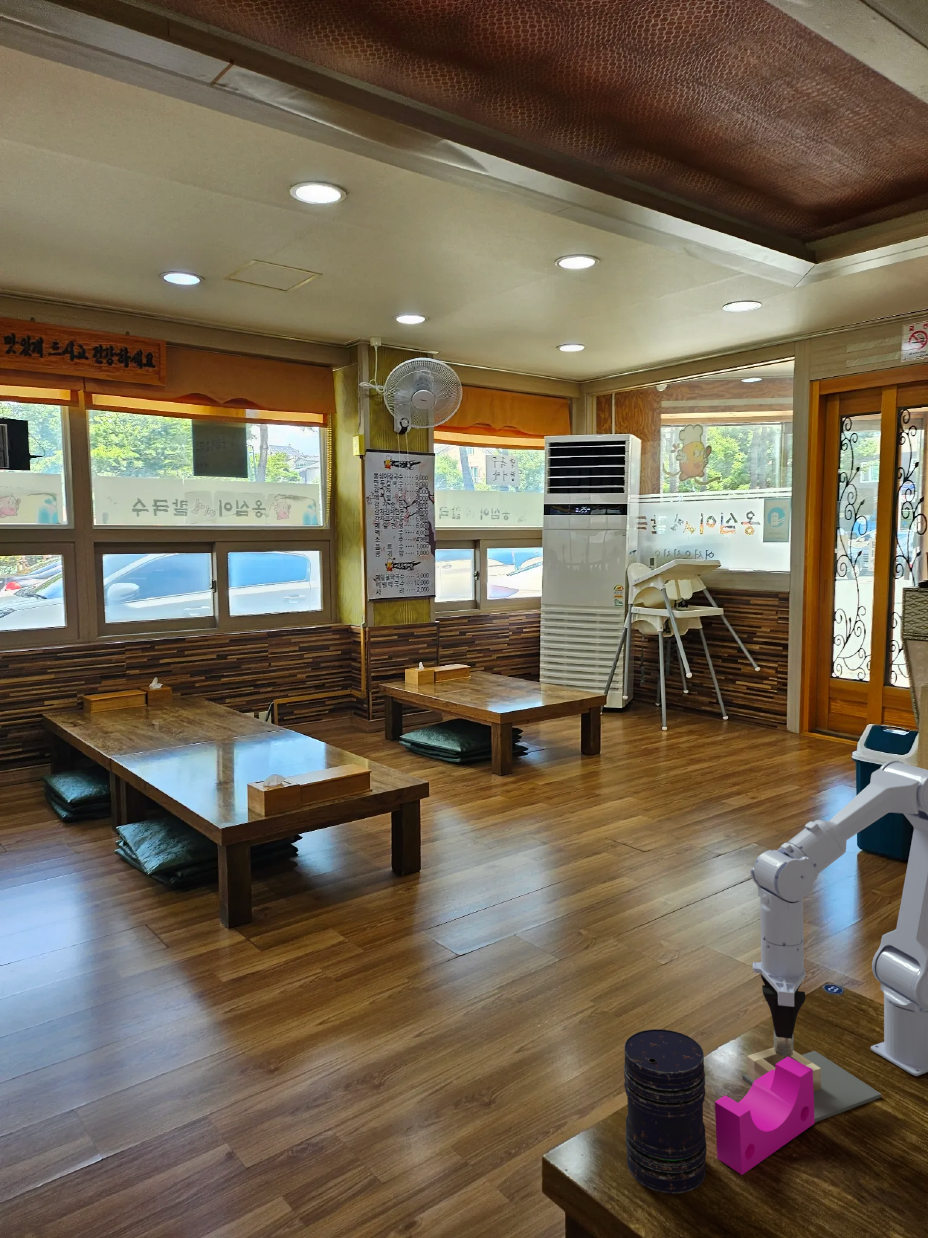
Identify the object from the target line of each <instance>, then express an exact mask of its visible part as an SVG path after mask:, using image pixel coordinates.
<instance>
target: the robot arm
mask: <svg viewBox="0 0 928 1238" xmlns="http://www.w3.org/2000/svg"><path fill="white" fill-rule="evenodd" d="M888 813H890V814H891V813H894V814H903V815H904V816H905V818H906V819H907V820H908V821H909V823H910V824H911V825H912V827H913V832H912V838H911V845H910V850H909V854H908V855H909V856H908V862H907V867H906V872H905V878H904V883H903V889H902V895H901V900H900V907H899V911H898V917H897V923H896V928H895V929H894V930H891V931H888V932H886V933H885V934H882V936H881V939H880V941H881V942H880V945H879V947H878V949H877V951H875V953H874V956H873V959H872V963H871V969H872V971H871V972H872V974H873V976H874V978H875V979H876V980H877V981H878V982H879V983H880V991H882V993H883V1019H884V1020H883V1021H884V1022H883V1029H884V1030H883V1031H884V1033H883V1036H884V1037H883V1039H884V1041H882V1042H879V1043H877V1044H874V1045H871V1046H870V1050H871V1051H872V1052H874V1053H875V1054H877V1055H879V1056H881V1058H884V1059H885V1060H887V1061H889V1062H891V1063H892V1064H893V1065H896V1066H897V1067H899V1068H901V1069H902V1070H904V1071H905V1072H907V1073H908V1074H911V1075H912V1076H914V1077H919V1076H921V1075H923V1074H926V1073H928V769H925V768H922V767H919V766H915V765H912V764H911V765H910V764H907V763H905V762H902V761H900V760H893V759H892V760H888V761H886V762H885V763H883V764H882V765H881V766H880V768H878V769H876V770H875V771H873V772H872V773H871V775H870V783H869V784H868V785H866V787H865V788H864V789H862V790H861V791H860V792H858V794H856V796H855V797H853V798H852V799H851V800H850V801H849V802H848V803H846V805H844V807H843V808H842V809H840V810H839V811H838V812H837V813H836V814H835V815H833V817H831V818H830V819H829V820H823V819H816V820H814V821H808V822H807V823H806V824H805V825H804V828H803V830H801V831H800V832H798V833H797V834H796V835H795V836H793V837H792V838H791V839H789V840H788V841H786V842H783V843H782V844H781V845H780V847H779V848H778V849H777V850H776V849H768V850H765V851H764V852H762V853H761V854H760V855H758V856H757V858H755V859H756V860H755V862H754V863H753V864H754V865H753V868H751V869H750V876H751V879H752V881H753V883H754V884H755V885H756V886H757V891H758V892H757V893H758V894H757V895H758V897H759V899H760V900H759V901H760V902H759V903H760V904H759V905H760V907H759V909H760V911H759V913H760V914H759V915H760V916H759V917H760V962H756V961H755V962H754V961H753V962H752V972H754V973H755V974H760V978H761V980H762V982H763V984H762V985H761V988H762V994H763V997H764V999H765V1001H766V1003H767V1004H768V1007H769V1010H770V1014H771V1019H772V1025H773V1032H774V1031H775V1034H776V1037H781V1038H790V1039H791V1038H792V1036H793V1037H794V1031H795V1027H796V1022H797V1018H798V1014H799V1012H800V1009H801V1007H802V1006H803V1005H804V1003H805V1001H806V998H807V997H806V991H800V990H799V989H800V987H801V985H802V983H803V981H804V980H805V978H806V969H805V966H804V965H805V954H804V953H805V952H804V951H805V950H804V949H805V947H804V946H805V945H804V942H805V941H804V940H805V939H804V936H805V935H804V898H807V897H808V896H809V894H810V893H811V891H812V888H813V885H814V882H815V881H817V879H818V877H819V874H820V873H822V872H823V871H824V870H825V869H826V868H828V867H829V866H830V865H832V864H833V863H835V861H837V860H838V859H839V858H841V857H842V856H843V855H844V854H845V853H846V852H847V851H846V850H847V841H848V840H850V839H852V837H854V836H855V835H857V834H858V833H859V832H861V831H863V830H864V829H866V828H868V827H869V826H871V825H872V824H873V823H875V822H877V821H878V820H880V818H883V817H884V816H886V815H887V814H888Z"/></svg>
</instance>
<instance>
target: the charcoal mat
mask: <svg viewBox="0 0 928 1238" xmlns="http://www.w3.org/2000/svg"><path fill="white" fill-rule="evenodd" d="M801 1055H802V1056H803V1057H805V1058H806V1059H808V1060H809V1061H811V1062H812V1063H814V1064H815V1065H817V1066H818V1067H820V1068H821V1089H819V1090H817V1091H814V1119H815V1123H818V1122H820V1121H822V1120H825V1119H828V1118H831V1117H834V1116H836V1115H839V1114H841V1113H843V1112H847V1111H849V1110H851V1109H854V1108H856V1107H859V1106H862V1105H865V1104H867V1103H870V1102H873V1101H875V1100H877V1099H880V1098H882V1093H881V1092H879V1091H877V1090H876V1088H873V1087H872V1086H870V1085H869V1084H867V1083H865V1082H864V1081H862V1080H861V1079H860V1078H858V1077H856V1076H855V1075H854V1074H852V1073H850V1072H849V1071H847V1070H845V1069H844V1068H842V1067H841V1066H839V1065H838V1064H836V1063H834V1062H833V1061H832V1060H830V1059H828V1058H827V1057H825V1056H823V1054H821V1053H819V1052H818V1051H816V1050H812V1051H809V1052H807V1053H806V1052H805V1053H803V1054H801ZM741 1077H742V1079H743V1080H744V1081H745V1082H746V1083H748V1084H749V1085H751V1086H752V1084H753V1082H754V1081H753V1080H752V1079H751V1078H750V1077H748V1076H747V1073H743V1074H742V1075H741Z"/></svg>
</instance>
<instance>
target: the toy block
mask: <svg viewBox="0 0 928 1238" xmlns="http://www.w3.org/2000/svg"><path fill="white" fill-rule="evenodd" d="M714 1112H715V1114H714V1115H715V1118H714V1119H715V1134H716V1135H715V1139H716V1158H717V1160H718V1161H720V1162H722V1163H723V1164H725V1165H726V1166H728V1167H730V1168H731V1169H732V1170H734V1171H735V1172H737V1173H738V1174H739V1175H741V1176H742V1175H744V1174H745V1173H747V1172H748V1171H750V1170H751V1169H752V1168H754V1167H756V1166H757V1165H758V1164H760V1163H761V1162H763V1161H764V1160H765V1159H767V1158H768V1157H770V1156H771V1155H772V1154H774V1153H775V1152H776V1151H778V1150H780V1149H781V1148H782V1147H783V1146H785V1145H787V1144H788V1143H789V1142H790V1141H792V1140H793V1139H795V1138H796V1137H798V1136H799V1135H801V1134H802V1133H803V1132H805V1131H806V1130H808V1128H810V1127H812V1126H813V1125H814V1124H815V1123H816V1122H815V1119H814V1092H813V1069H811V1068H809V1067H807V1066H805V1065H803V1064H802V1063H800V1062H798V1061H796V1060H794V1059H792V1058H790V1057H786V1058H785V1059H783V1060H781V1061H780V1062H778V1063H776V1064H775V1070H773V1069H772V1070H771V1071H769V1072H768V1073H766V1074H764V1075H763V1076H761V1077H760V1078H758V1079H756V1080H755V1081H754V1082H753V1084H752V1085H751V1087H750V1088H749V1090H748V1091H747V1093H746V1094H745V1095H744V1096H743V1098H742V1099H740V1100H739V1101H738V1102H737V1101H736V1100H734V1099H732V1098H730V1097H729V1096H728V1095H723V1096H722V1097H720V1098H719V1099H716V1100H715V1101H714Z"/></svg>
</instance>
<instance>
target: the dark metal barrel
mask: <svg viewBox="0 0 928 1238" xmlns="http://www.w3.org/2000/svg"><path fill="white" fill-rule="evenodd" d="M704 1054H705V1053H704V1049H703V1047H702V1046H701V1045H700V1043H698V1042H697V1040H695V1039H694V1038H693V1037H690V1036H689V1035H686V1034H684V1033H682V1032H679V1031H674V1030H671V1029H669V1030H668V1029H661V1028H659V1029H658V1028H655V1029H654V1028H653V1029H646V1030H641V1031H638V1032H635V1033H633V1034H631V1036H629V1037H628V1038H627V1039H626V1041H625V1042H624V1065H623V1073H624V1075H623V1077H624V1082H623V1083H624V1085H623V1086H624V1091H625V1094H626V1097H627V1115H626V1118H625V1134H624V1135H625V1146H626V1164H627V1169H628V1171H629V1173H630V1174H631V1176H632V1177H633V1178H634V1179H635V1181H637V1182H639V1184H641V1185H643V1186H644V1187H646V1188H648V1189H650V1190H653V1191H654V1192H655V1191H656V1192H659V1193H664V1194H683V1193H686V1192H690V1191H693V1190H695V1189H697V1188H698V1187H699V1186H700V1185H701V1184H702V1183H703V1182H704V1181H705V1177H706V1175H707V1174H706V1173H707V1169H706V1168H707V1167H706V1160H707V1157H706V1156H707V1139H706V1126H705V1124H704V1123H705V1122H704V1113H703V1112H704V1102H705V1098H706V1087H705V1086H706V1073H705V1064H704V1063H705V1062H704V1061H705V1055H704Z"/></svg>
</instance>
